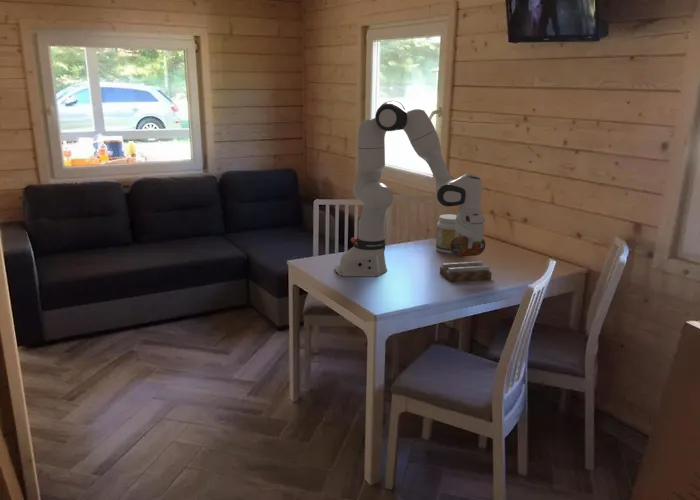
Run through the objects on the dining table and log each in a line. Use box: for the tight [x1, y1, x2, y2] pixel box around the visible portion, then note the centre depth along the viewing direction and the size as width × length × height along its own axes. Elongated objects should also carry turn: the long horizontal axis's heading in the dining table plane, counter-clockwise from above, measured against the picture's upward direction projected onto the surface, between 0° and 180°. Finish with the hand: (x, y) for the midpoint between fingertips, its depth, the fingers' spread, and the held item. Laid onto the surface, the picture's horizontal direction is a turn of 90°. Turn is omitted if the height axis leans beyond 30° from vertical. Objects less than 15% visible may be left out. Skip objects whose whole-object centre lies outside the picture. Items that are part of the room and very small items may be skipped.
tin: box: [450, 236, 486, 258], centre depth 250 cm, size 15×3×8 cm, turn 103°
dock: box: [439, 260, 492, 283], centre depth 253 cm, size 18×12×5 cm, turn 103°
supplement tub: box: [435, 213, 462, 255], centre depth 288 cm, size 12×12×17 cm
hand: (467, 246), depth 250 cm, fingers closed on tin, 2 cm apart
